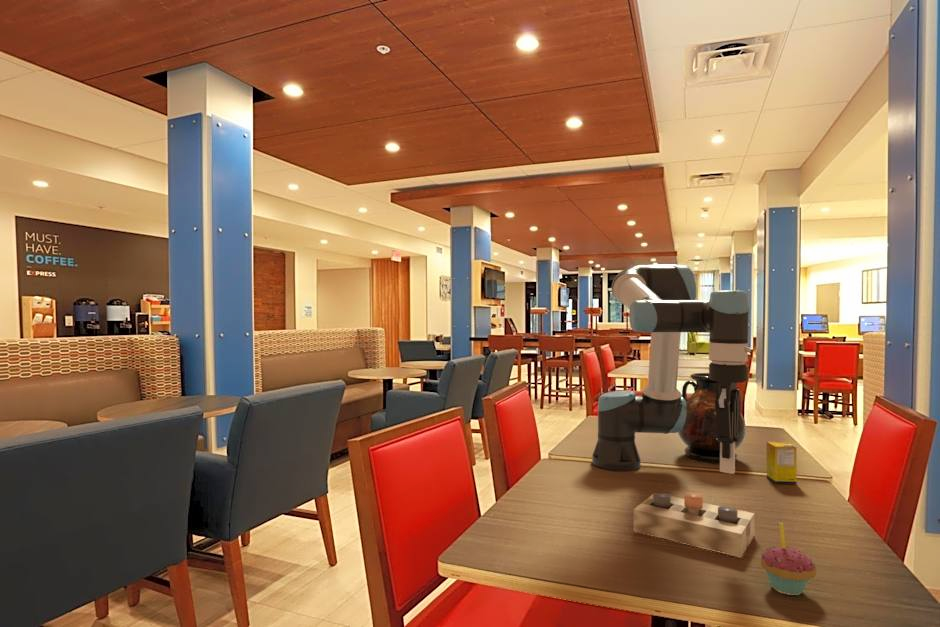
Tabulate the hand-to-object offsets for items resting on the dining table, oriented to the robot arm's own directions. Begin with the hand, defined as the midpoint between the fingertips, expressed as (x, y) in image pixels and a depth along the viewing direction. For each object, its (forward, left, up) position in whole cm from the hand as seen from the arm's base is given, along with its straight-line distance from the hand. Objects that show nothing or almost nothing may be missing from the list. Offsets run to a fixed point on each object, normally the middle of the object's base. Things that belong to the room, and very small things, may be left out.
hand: (727, 471), depth 117 cm
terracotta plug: (-7, 0, -11) cm, 13 cm away
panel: (-7, 0, -15) cm, 16 cm away
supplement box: (+3, +55, -15) cm, 57 cm away
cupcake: (+13, -15, -15) cm, 25 cm away
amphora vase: (-20, +70, -15) cm, 74 cm away
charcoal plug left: (-14, 0, -13) cm, 19 cm away
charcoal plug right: (0, 0, -13) cm, 13 cm away
